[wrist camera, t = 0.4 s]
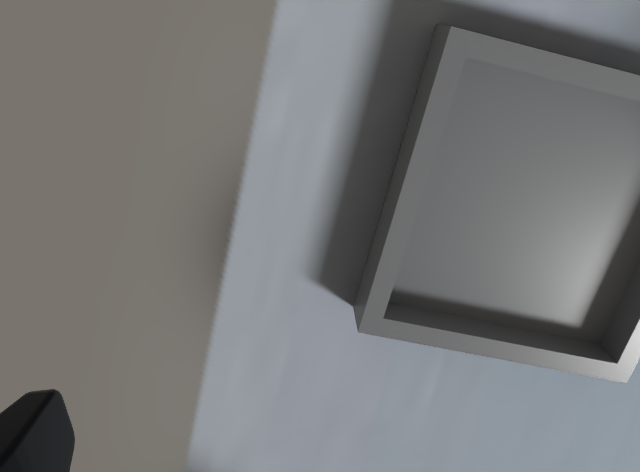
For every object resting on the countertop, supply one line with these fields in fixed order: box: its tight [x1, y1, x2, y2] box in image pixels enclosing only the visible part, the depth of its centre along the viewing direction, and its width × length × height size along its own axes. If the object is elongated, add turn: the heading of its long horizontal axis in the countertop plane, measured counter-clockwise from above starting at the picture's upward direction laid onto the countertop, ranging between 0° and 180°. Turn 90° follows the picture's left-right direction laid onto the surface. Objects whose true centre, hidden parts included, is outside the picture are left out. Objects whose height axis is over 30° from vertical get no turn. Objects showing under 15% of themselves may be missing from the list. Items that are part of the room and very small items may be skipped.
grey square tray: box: [353, 24, 640, 383], centre depth 22 cm, size 12×12×2 cm
